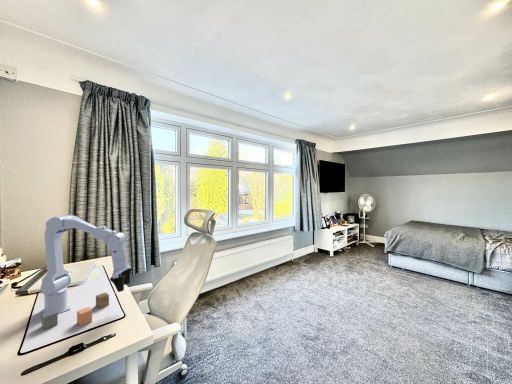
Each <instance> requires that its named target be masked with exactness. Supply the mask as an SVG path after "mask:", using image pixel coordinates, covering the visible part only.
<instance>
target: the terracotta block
mask: <svg viewBox="0 0 512 384" xmlns="http://www.w3.org/2000/svg"><path fill="white" fill-rule="evenodd" d="M92 322H93V310H92V308H90V307H89V306H87V307H85V308H82V309H79V310H77V311H76V323H77V325H79V326H80V327H82V326H85V325H87V324H90V323H92Z"/></svg>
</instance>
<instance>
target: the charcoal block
mask: <svg viewBox="0 0 512 384" xmlns="http://www.w3.org/2000/svg"><path fill="white" fill-rule="evenodd" d="M58 319H59V318H58V313H57V312H56V311H55V310H52V311H49V312H47V313H42V314H41V327H42V329H43V330H44V331H45V330H48V329H51V328H53V327H56V326H58V323H59V322H58Z"/></svg>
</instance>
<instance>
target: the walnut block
mask: <svg viewBox="0 0 512 384" xmlns="http://www.w3.org/2000/svg"><path fill="white" fill-rule="evenodd" d="M109 305H110V295H109V293H107V292H103V293H100V294H97V295H95V307H97V308H98V309H103V308H105V307H107V306H109Z"/></svg>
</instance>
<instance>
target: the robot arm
mask: <svg viewBox="0 0 512 384" xmlns="http://www.w3.org/2000/svg"><path fill="white" fill-rule="evenodd" d="M71 229H77V230H80V231H83V232H85V233H89V234H91V235H92V238H94V239H96V240H99V241H101V242H103V243H105V244H106V246H107V247H109V250H110V253H111V254H110V255H111V261H112V265H113V266H112V267H113V270H112V271H113V272H112V274H111V275H112V276H110V278H109V281H110V282H111V283H112V284H113V285H114V286H115V288H116V291H117V292H118V293H120V292H123V291H124V289H125V286H127V285H130V283H131V273H132V271H133V267H132V266H131V265H130V263H129V262H128V258H127V257H128V256H127V251H126V245H125V243H126V242H127V235H126V234H125V233H123V232H122V231H118V232H116V230H111V229H109V228H107V226H105V225H103V226H101V225H100V226H96V225H94V224H92V223H89V222H87V221H85V220H83V219H81V218H80V217H79V216H76V215H73V214H68V215H61V216H54V217H51V218H49V219H48V220H47V221H46V222H45V230H44V246H45V260H46V269H47V270H46V271H47V272H46V274H45V275H44V276H43V277H42V279H41V285H40V292H41V293H42V294H43V296H44V298H43V299H44V301H43V302H44V308H43V309H41V312H42V314H44V313H47V312H49V311H52V310H55V311H56V312H57V313H58V314H61V313H64V312H67V311H70V310H71V308H70V307H69V306H68V305H67V304H68V298H67V297H68V295H67V294H68V293H67V292H68V291H67V290H68V288H69V285H70V284H71V282H72V279H71V276H70V275H69V274H70V273H69V270H66V269H64V259H63V256H64V255H63V246H62V245H63V244H62V235H64V234H65V233H66V232H68V230H71Z"/></svg>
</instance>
